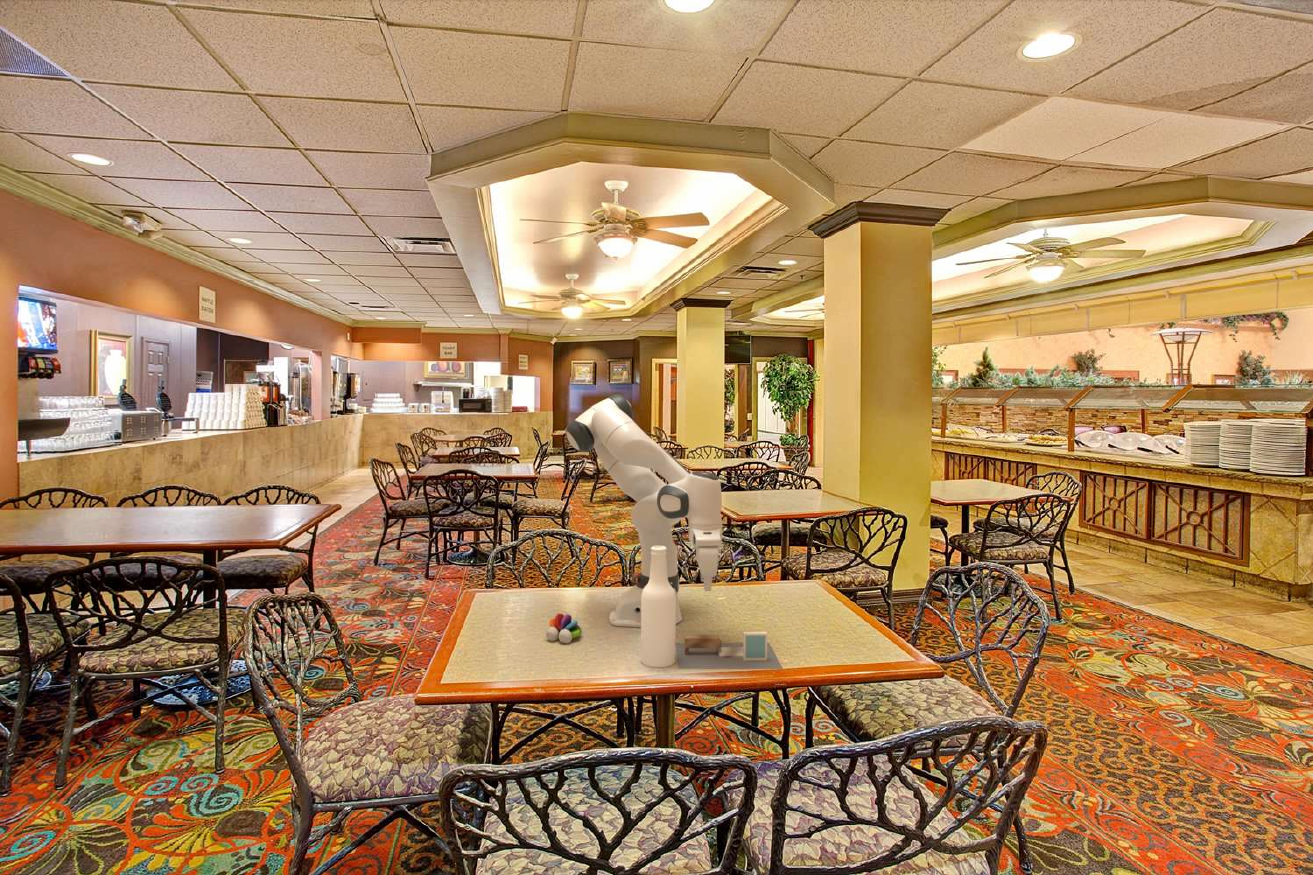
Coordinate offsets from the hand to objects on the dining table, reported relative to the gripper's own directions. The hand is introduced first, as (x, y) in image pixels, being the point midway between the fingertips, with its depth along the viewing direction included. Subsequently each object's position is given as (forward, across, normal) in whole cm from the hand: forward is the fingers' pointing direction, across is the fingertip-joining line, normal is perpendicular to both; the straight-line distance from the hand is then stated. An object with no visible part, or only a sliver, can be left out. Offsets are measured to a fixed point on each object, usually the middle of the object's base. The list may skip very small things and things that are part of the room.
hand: (705, 585), depth 173 cm
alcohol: (+19, +6, -13) cm, 23 cm away
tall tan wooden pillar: (+18, +1, +2) cm, 18 cm away
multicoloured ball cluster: (+18, -12, -39) cm, 45 cm away
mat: (+19, +2, +5) cm, 19 cm away
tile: (+18, +4, +12) cm, 22 cm away
